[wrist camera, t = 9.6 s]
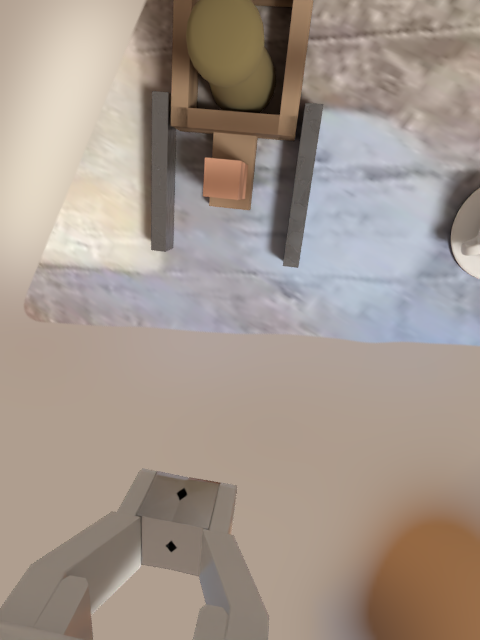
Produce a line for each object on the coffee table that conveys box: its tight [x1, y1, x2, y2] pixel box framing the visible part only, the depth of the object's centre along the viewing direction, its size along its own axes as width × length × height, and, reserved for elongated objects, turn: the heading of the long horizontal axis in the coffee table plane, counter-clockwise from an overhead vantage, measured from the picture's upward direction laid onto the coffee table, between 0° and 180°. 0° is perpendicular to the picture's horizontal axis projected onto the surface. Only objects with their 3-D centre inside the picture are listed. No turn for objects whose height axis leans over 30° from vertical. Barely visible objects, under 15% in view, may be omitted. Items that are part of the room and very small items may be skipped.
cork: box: [186, 0, 276, 113], centre depth 27 cm, size 6×6×11 cm
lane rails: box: [151, 91, 323, 268], centre depth 34 cm, size 14×15×2 cm
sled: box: [171, 0, 313, 210], centre depth 30 cm, size 18×11×6 cm, turn 174°
